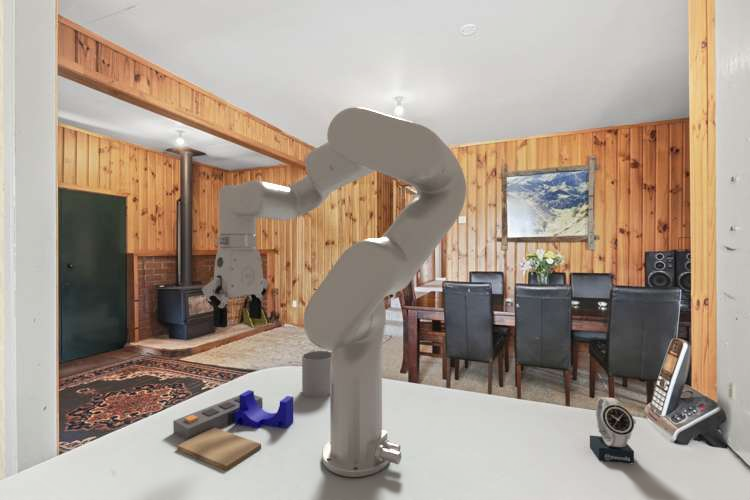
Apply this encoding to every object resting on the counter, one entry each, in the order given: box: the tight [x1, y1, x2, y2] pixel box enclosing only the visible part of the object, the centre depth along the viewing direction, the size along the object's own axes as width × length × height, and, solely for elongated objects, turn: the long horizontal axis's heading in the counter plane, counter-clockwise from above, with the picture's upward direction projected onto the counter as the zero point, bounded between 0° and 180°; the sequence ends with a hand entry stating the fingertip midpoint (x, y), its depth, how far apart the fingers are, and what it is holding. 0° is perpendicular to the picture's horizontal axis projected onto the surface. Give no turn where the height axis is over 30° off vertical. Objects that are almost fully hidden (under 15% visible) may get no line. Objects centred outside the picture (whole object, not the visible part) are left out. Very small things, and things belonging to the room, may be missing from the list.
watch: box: [589, 396, 637, 464], centre depth 65 cm, size 6×8×11 cm
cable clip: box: [234, 389, 294, 430], centre depth 79 cm, size 12×4×6 cm, turn 72°
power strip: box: [172, 394, 263, 441], centre depth 81 cm, size 18×6×4 cm, turn 145°
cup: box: [301, 350, 332, 398], centre depth 96 cm, size 8×8×10 cm
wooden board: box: [176, 427, 262, 471], centre depth 69 cm, size 14×8×1 cm, turn 61°
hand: (238, 322), depth 78 cm, fingers open, 9 cm apart
